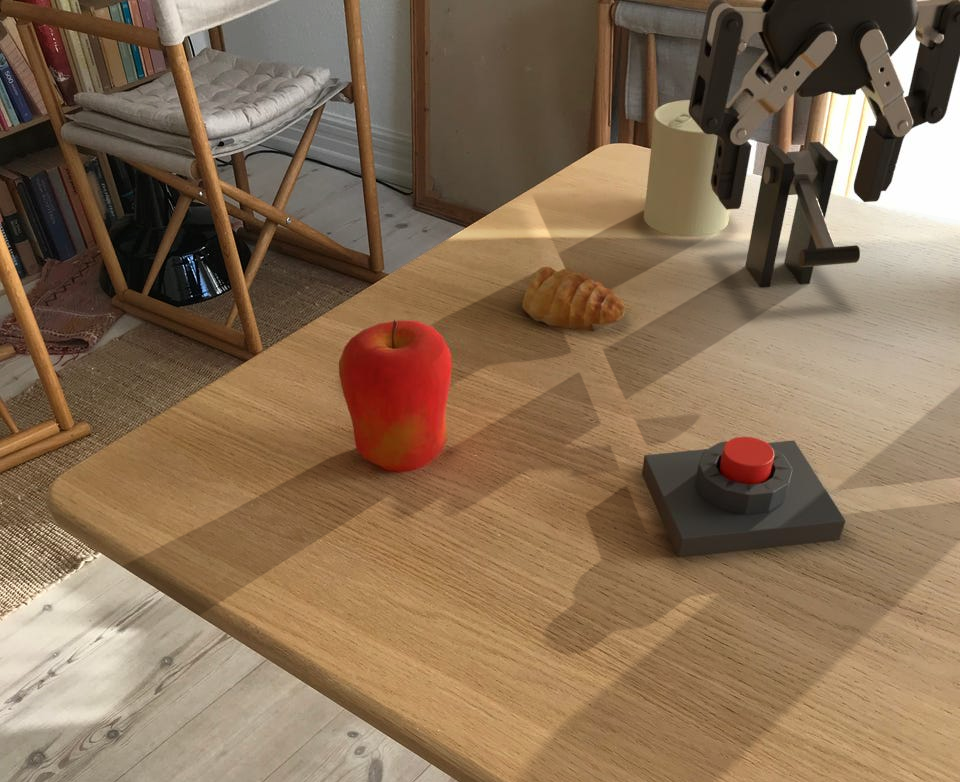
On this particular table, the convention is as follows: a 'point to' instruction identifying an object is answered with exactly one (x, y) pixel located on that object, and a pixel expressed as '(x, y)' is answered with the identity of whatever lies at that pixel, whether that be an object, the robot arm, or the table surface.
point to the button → (746, 460)
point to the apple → (397, 393)
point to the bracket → (773, 211)
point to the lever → (816, 217)
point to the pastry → (570, 300)
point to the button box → (739, 502)
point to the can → (682, 176)
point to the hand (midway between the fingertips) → (797, 200)
